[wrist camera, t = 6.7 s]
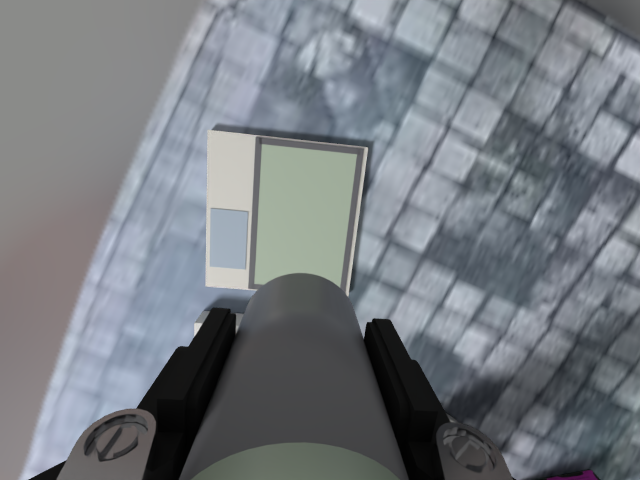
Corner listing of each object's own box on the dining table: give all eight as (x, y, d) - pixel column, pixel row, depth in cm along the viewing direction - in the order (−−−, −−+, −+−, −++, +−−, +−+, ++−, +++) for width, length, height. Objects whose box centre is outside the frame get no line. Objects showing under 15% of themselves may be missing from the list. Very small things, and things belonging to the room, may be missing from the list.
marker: (363, 277, 12) (541, 645, 3) (348, 376, 13) (443, 855, 4) (245, 268, 11) (39, 650, 3) (241, 370, 12) (89, 879, 4)
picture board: (366, 147, 30) (368, 147, 29) (347, 294, 33) (348, 298, 33) (210, 130, 29) (207, 129, 28) (208, 283, 32) (205, 286, 32)
